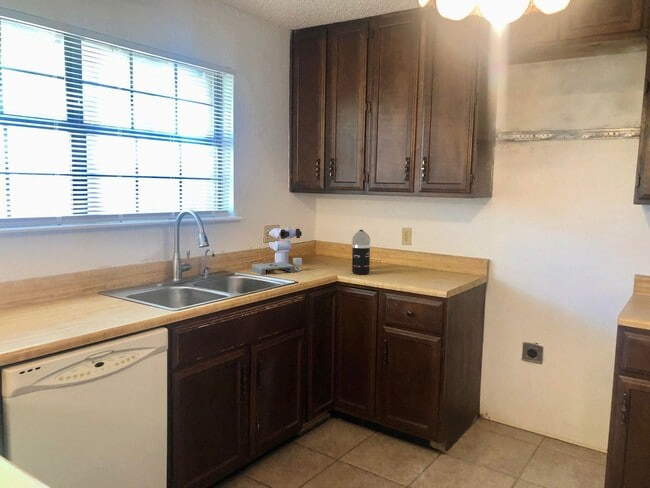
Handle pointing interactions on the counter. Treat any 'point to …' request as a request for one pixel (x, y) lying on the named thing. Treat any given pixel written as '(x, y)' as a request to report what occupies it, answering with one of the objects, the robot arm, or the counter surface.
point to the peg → (297, 263)
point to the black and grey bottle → (361, 253)
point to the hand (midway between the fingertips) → (295, 233)
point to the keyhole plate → (280, 265)
